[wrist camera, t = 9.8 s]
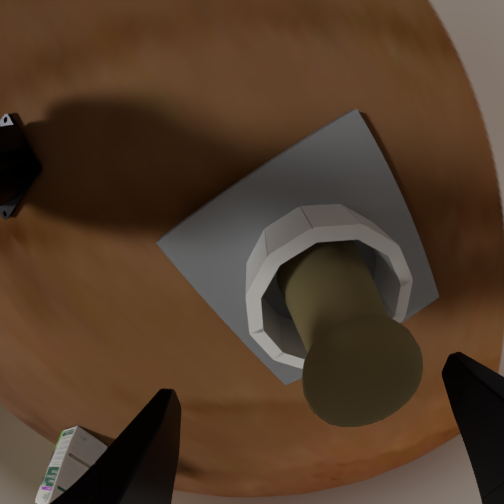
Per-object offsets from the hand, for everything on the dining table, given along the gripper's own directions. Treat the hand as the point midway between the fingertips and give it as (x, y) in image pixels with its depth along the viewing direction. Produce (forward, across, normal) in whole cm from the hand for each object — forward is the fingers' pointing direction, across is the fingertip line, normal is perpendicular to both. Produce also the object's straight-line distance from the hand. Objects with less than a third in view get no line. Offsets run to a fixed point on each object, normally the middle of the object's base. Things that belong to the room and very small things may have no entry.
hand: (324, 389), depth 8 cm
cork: (+12, -2, +2) cm, 12 cm away
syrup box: (+13, +28, +29) cm, 43 cm away
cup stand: (+13, -2, +2) cm, 13 cm away
